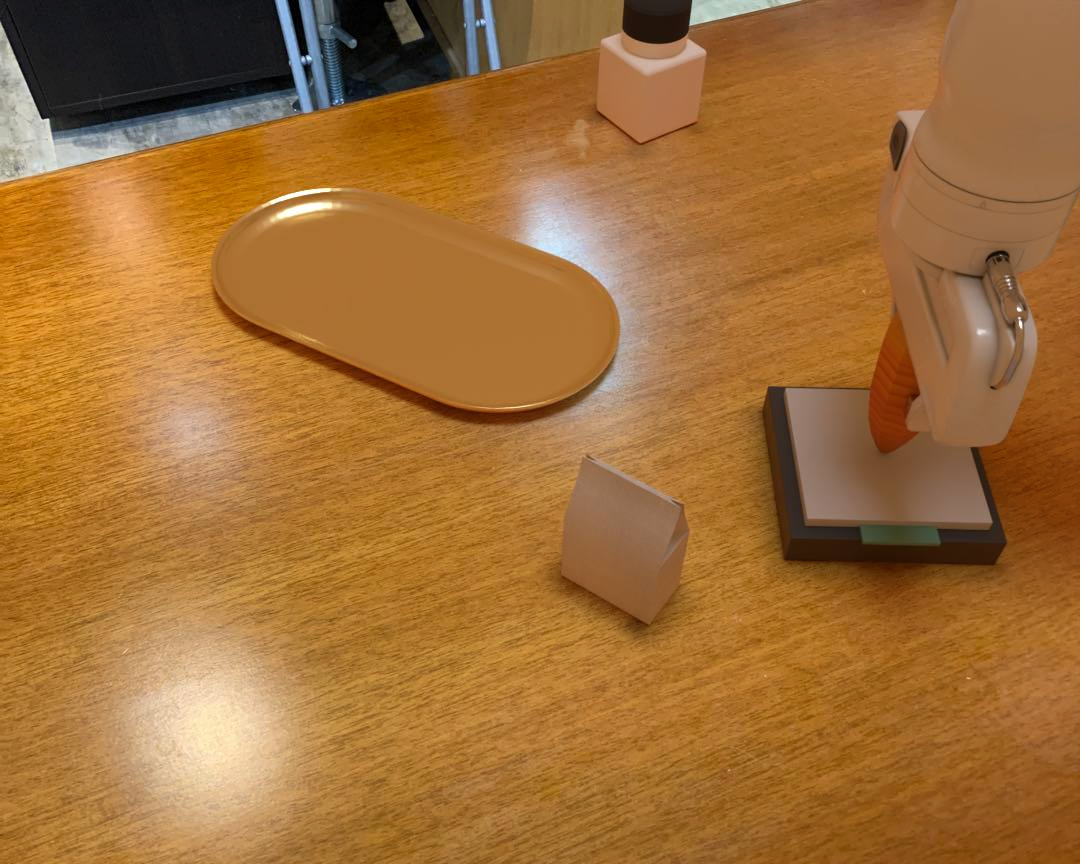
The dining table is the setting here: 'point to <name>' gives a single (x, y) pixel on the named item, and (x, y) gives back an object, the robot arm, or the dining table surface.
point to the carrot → (892, 390)
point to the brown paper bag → (623, 540)
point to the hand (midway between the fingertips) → (907, 387)
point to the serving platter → (418, 298)
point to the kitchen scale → (872, 486)
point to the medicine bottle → (651, 70)
